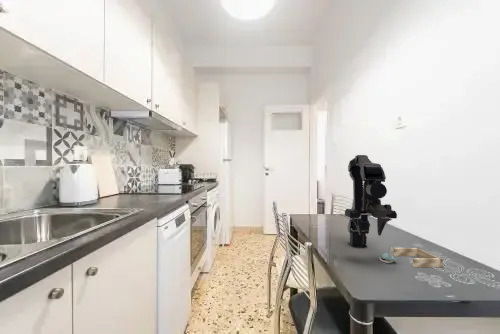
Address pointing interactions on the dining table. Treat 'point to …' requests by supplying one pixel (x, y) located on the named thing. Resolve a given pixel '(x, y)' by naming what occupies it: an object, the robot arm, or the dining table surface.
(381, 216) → the robot arm
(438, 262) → the box
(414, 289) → the dining table surface
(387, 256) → the pacifier
